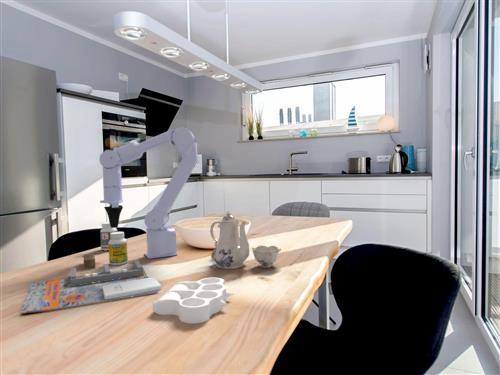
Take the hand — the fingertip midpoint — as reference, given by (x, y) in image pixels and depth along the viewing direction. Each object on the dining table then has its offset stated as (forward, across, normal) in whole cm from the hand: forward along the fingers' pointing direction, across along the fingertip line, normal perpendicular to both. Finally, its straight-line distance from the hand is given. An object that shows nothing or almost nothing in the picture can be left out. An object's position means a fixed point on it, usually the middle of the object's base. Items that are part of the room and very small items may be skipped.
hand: (114, 227), depth 115 cm
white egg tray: (+10, +54, +11) cm, 56 cm away
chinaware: (+10, +29, +32) cm, 45 cm away
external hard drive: (+11, +37, 0) cm, 39 cm away
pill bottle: (+10, -13, -1) cm, 16 cm away
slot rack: (+10, +22, -4) cm, 24 cm away
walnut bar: (+10, +8, -8) cm, 15 cm away
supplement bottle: (+10, +10, 0) cm, 14 cm away
